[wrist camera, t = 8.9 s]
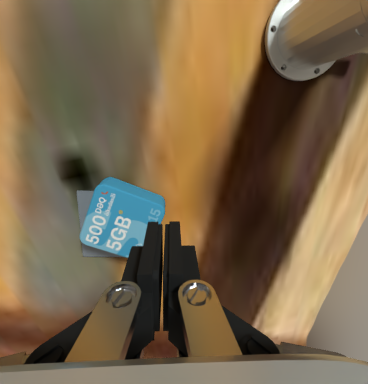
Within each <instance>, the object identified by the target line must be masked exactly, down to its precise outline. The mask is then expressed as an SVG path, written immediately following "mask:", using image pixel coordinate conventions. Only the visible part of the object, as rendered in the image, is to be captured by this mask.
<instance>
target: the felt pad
mask: <svg viewBox="0 0 368 384" xmlns="http://www.w3.org/2000/svg"><path fill="white" fill-rule="evenodd" d="M93 193H94V191H79V190H77V200H78V210H79V220H80V230H82V227H83V223H84V220H85V217H86V214H87V211H88V208H89V205H90V202H91V199H92V196H93ZM82 250H83V256H86V257H123V256H120V255H117V254H114V253H110V252H107V251H104V250H100V249H97V248H94V247H91V246H87V245H85V244H83V243H82Z"/></svg>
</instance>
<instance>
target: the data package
mask: <svg viewBox="0 0 368 384" xmlns="http://www.w3.org/2000/svg"><path fill="white" fill-rule="evenodd" d="M164 215H165V200H164V198H163V197H162V196H160V195H158V194H155V193H152V192H150V191H147V190H145V189H142V188H139V187H137V186H134V185H131V184H129V183H126V182H123V181H121V180H118V179H115V178H113V177H108V178H105V179H104V180H103V181H102V182H101V183H100V184H99V185H98V186H97V187H96V188H95V190H94V193H93V196H92V199H91V202H90V205H89V208H88V211H87V214H86V217H85V220H84V223H83V227H82V230H81V233H80V240H81V242H82V243H83V244H85V245H87V246H91V247H94V248H97V249H100V250H104V251H107V252H110V253H114V254H117V255H120V256H123V257H127V258H128V257H129V253H130V250H131V247H132V246H143V244H144V239H145V234H146V229H147V224H148V222H158V223H159V224H161V221H162V219H163V217H164Z"/></svg>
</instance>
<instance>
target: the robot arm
mask: <svg viewBox="0 0 368 384" xmlns="http://www.w3.org/2000/svg"><path fill="white" fill-rule="evenodd" d="M271 30H272V32H271ZM265 49H266V54H267V57H268V60H269V62H270V64H271V66H272V67H273V69H274V70H275V71H276V72H277V73H278V74H279V75H280V76H282V77H283V78H286V79H288V80H292V81H305V80H309V79H312V78H315V77H317V76H319V75H321V74H323V73H324V72H325V71H326V70H328V69H329V68H330V67H331V66H332V65H333V64H334V63H335V61H336V60H338V59H341V58H344V57H347V56H350V55H353V54H356V53H364V54H368V0H279V2H278V3H277V4H276V6H275V7H274V9H273V11H272V13H271V15H270V17H269V20H268V23H267V27H266V32H265ZM281 67H282V70H281ZM314 71H315V73H314ZM162 273H163V331H168V340H169V341H170V342H171V343H173V344H174V345H175V346H176V347H177V358H152V359H143V356H144V348H145V347H146V346H147V345H148V344H149V343H150V342H151V341H152V340H154V333H155V331H159V330H160V311H161V292H162ZM0 384H368V362H366V361H361V360H357V359H352V358H348V357H346V356H344V355H342V354H339V353H336V352H331V351H326V350H321V349H316V348H311V347H306V346H300V345H295V344H290V343H285V342H281V343H280V345H278V344H274V342H273V341H272V340H270V339H269V338H268V337H267V336H265V335H264V334H263V333H261V332H260V331H258V330H257V329H255V328H254V327H252V326H251V325H249V324H248V323H246V322H245V321H243V320H242V319H240V318H239V317H238V316H236V315H235V314H233V313H232V312H230V311H229V310H227V309H226V308H224V307H223V306H221V304H220V302H219V299H218V297H217V295H216V293H215V290H214V289H213V287H212V286H211V285H210V284H208V283H207V282H204V281H201V280H200V274H199V268H198V263H197V257H196V251H195V246H181V234H180V222H170V224H165V244H164V265H163V240H162V224H159V223H158V222H148V224H147V229H146V234H145V239H144V244H143V246H132V247H131V250H130V253H129V257H128V260H127V263H126V267H125V270H124V274H123V277H122V280H121V282H117V283H115V284H112V285H111V286H109V287H108V288H107V289H106V290H105V291H104V293H103V294H102V296H101V298H100V299H99V301H98V303H97V305H96V307H95V308H94V310H93V311H92V312H90V313H89V314H87V315H86V316H84V317H83V318H81V319H80V320H78V321H77V322H75V323H74V324H72V325H71V326H69V327H68V328H66V329H65V330H63V331H62V332H60V333H58V334H57V335H55V336H54V337H52V338H51V339H49V340H48V341H46V342H45V343H43V344H42V345H40V346H39V347H38V348H37V349H35V350H34V351H33V352H32V353H31V354H28V355H27V354H26V352H21V353H17V354H13V355H9V356H5V357H1V358H0Z"/></svg>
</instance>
